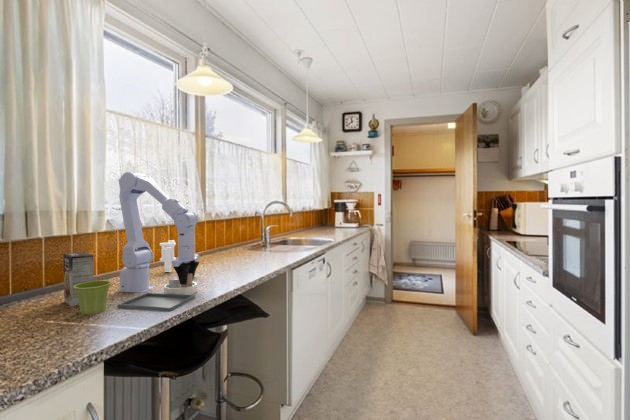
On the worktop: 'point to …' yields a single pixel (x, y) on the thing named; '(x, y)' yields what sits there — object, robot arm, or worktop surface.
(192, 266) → the robot arm
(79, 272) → the coffee box
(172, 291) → the bowl
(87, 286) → the plant pot
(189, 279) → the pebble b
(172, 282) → the grey rounded cylinder
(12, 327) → the worktop surface
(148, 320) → the worktop surface
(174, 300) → the tray
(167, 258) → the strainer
